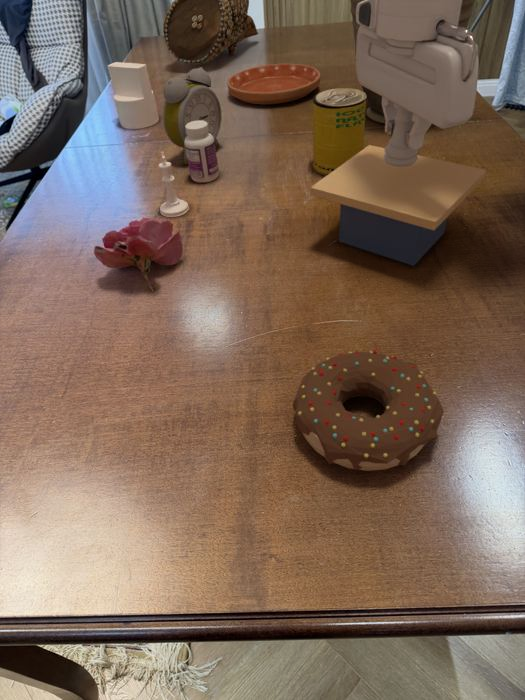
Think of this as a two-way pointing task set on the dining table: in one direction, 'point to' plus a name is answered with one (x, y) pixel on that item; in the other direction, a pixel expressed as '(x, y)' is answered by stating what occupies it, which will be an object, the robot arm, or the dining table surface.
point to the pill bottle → (201, 152)
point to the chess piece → (171, 193)
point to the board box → (396, 201)
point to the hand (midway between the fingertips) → (402, 140)
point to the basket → (206, 28)
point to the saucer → (274, 83)
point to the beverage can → (337, 127)
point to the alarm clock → (190, 106)
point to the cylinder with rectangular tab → (133, 95)
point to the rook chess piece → (400, 140)
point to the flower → (141, 245)
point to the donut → (359, 431)
